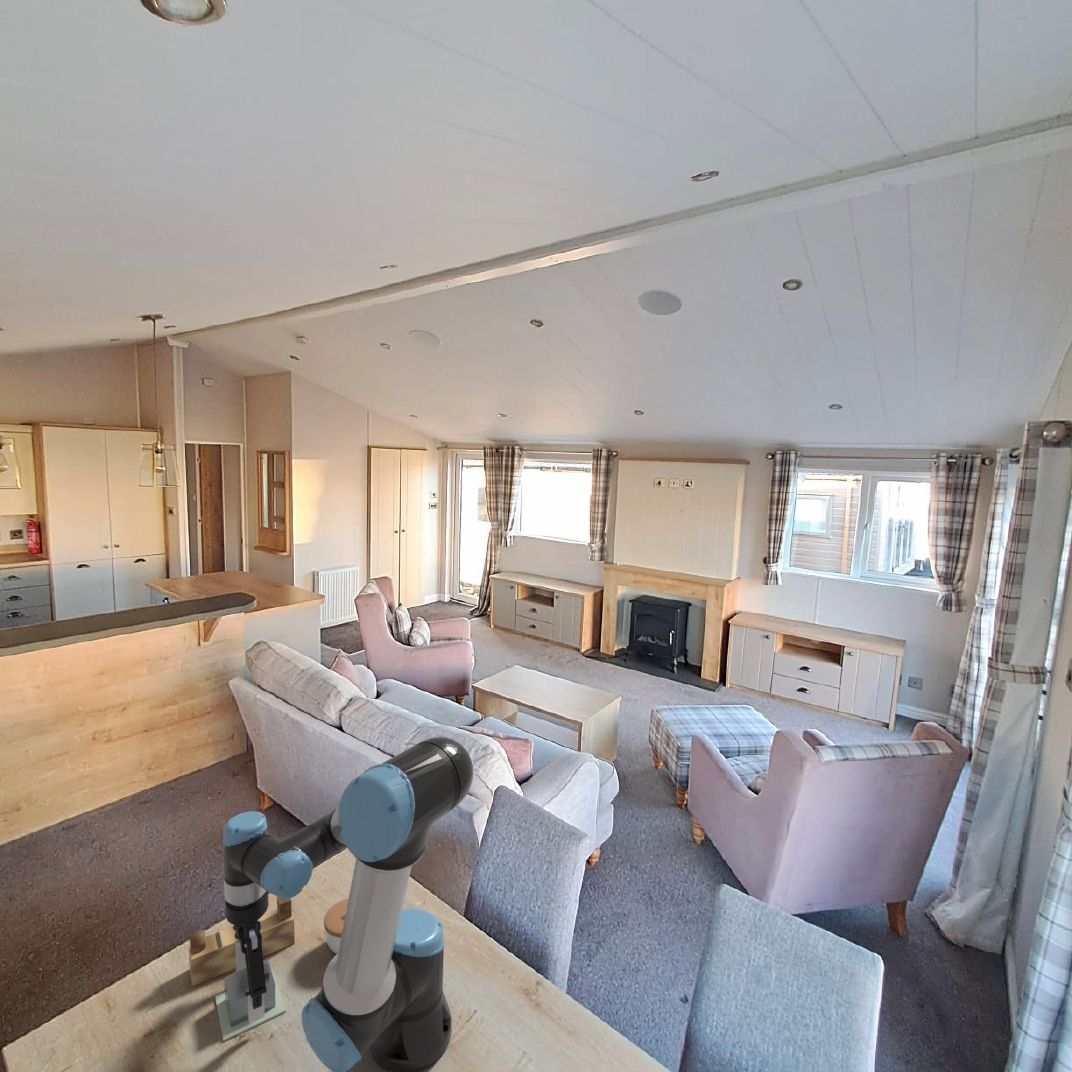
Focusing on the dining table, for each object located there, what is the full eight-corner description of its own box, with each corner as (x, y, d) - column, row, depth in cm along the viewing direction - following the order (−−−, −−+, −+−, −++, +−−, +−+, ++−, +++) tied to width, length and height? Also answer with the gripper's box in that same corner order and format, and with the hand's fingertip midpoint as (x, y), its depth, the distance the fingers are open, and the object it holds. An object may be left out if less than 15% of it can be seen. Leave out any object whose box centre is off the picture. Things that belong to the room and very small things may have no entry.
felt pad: (286, 1011, 117) (286, 1009, 117) (223, 1041, 110) (223, 1039, 110) (273, 972, 126) (273, 970, 126) (215, 997, 119) (215, 996, 119)
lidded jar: (381, 930, 138) (381, 893, 137) (363, 969, 127) (363, 928, 126) (337, 925, 139) (336, 888, 138) (315, 963, 128) (315, 923, 127)
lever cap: (275, 1006, 117) (274, 978, 117) (230, 1027, 113) (229, 998, 112) (268, 980, 123) (267, 954, 122) (224, 1000, 118) (224, 972, 118)
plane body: (289, 929, 137) (288, 889, 136) (294, 943, 133) (293, 902, 132) (189, 969, 126) (187, 926, 125) (192, 986, 122) (190, 941, 121)
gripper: (282, 926, 107) (284, 1031, 110) (255, 851, 127) (258, 942, 130) (236, 945, 103) (239, 1054, 105) (216, 864, 123) (219, 957, 126)
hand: (249, 992), depth 118 cm, fingers open, 13 cm apart
